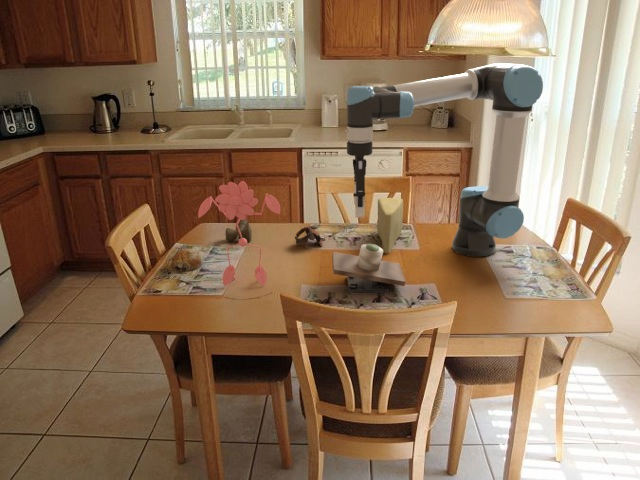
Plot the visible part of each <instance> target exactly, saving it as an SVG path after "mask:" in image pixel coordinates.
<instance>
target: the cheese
mask: <svg viewBox="0 0 640 480" xmlns="http://www.w3.org/2000/svg"><path fill="white" fill-rule="evenodd" d="M403 212H404V200H403V199H402V198H401V197H399V198H398V197H379V198H378V199H377V223H376V225H377V228H376V229H377V234H378V236H379V239H380V240H381V244H382V245H381V246H382V249H383V254H385V255H386V254H387V255H388V254H390V253H391V251H392V249H393V247H394V245H395V243H396V241H397V239H398V238H399V236H400V235H401V234H402V230H403V229H402V228H403V219H404V218H403V214H404V213H403Z"/></svg>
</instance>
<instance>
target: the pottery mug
mask: <svg viewBox="0 0 640 480" xmlns="http://www.w3.org/2000/svg"><path fill="white" fill-rule="evenodd" d="M303 233H305V235H304V236H303V237H300V236H301V235H303ZM299 237H300V238H299ZM294 240H295V244H296V246H298V247H299V246H302V245H305V244H306V245H309V244H310V243H309V241H314V240H315V241H316V243H317V242H318V244H319V246H320V248H322V247H323V246H324V244H323V239H322V237H321V236H320V233H319V232H318V231H317V230H316V229H315V227H314V226H312V225H309V226H306V227H303V228H300V230H298V231H297V232H296V233H295V236H294Z"/></svg>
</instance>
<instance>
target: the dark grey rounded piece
mask: <svg viewBox="0 0 640 480" xmlns="http://www.w3.org/2000/svg"><path fill="white" fill-rule="evenodd" d="M236 223H237V221H236ZM238 227H239V229H240V232H241V235H242V238H245V239H246V240H247V242H249V243H250V242H252V234H253V233H252V228H251V226H250V223H249V221H248V220H247V218H246V219H245V220H241V219H240V221H239V223H238ZM240 239H241V236H240V234H239V231H238V229H237V227H236V226H235V229H233V228H232V229H231V228H229V227H227V228H225V240H226V242H227V243H230V242H233V241H239V240H240Z"/></svg>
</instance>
